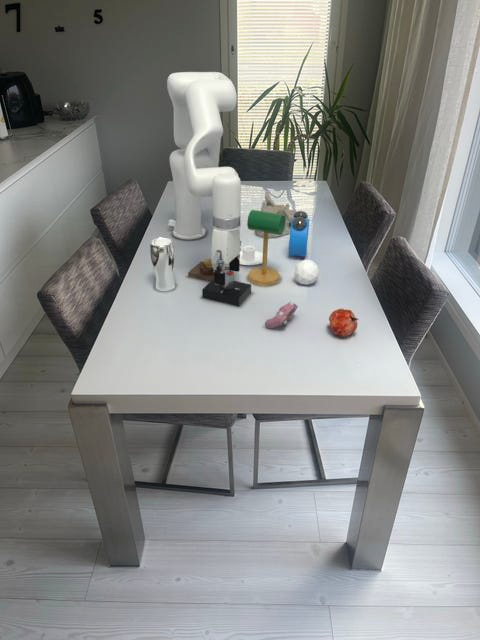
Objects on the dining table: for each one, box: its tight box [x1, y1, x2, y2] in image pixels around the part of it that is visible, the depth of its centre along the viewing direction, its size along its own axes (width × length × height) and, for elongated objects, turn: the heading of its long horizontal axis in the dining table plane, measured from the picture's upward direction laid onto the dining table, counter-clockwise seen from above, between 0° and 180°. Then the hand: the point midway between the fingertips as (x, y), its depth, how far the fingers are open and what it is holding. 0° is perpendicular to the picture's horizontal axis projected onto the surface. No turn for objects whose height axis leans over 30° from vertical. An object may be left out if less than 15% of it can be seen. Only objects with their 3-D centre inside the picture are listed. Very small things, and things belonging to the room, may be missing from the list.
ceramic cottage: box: [255, 190, 297, 239], centre depth 179 cm, size 16×16×15 cm
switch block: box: [187, 261, 232, 283], centre depth 149 cm, size 11×9×4 cm
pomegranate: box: [328, 308, 360, 338], centre depth 121 cm, size 7×7×10 cm
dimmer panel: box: [201, 279, 252, 307], centre depth 137 cm, size 12×9×3 cm
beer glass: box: [149, 236, 176, 292], centre depth 139 cm, size 7×7×15 cm
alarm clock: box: [288, 209, 310, 260], centre depth 159 cm, size 13×6×15 cm, turn 170°
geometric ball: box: [293, 259, 320, 286], centre depth 144 cm, size 8×8×8 cm
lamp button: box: [203, 258, 212, 268], centre depth 148 cm, size 4×4×2 cm
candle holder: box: [239, 245, 263, 266], centre depth 158 cm, size 12×12×4 cm
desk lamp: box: [246, 209, 286, 287], centre depth 142 cm, size 10×10×22 cm
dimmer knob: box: [220, 270, 235, 290], centre depth 135 cm, size 4×4×5 cm
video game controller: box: [264, 301, 299, 329], centre depth 125 cm, size 10×5×7 cm, turn 148°
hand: (227, 277), depth 135 cm, fingers open, 9 cm apart
